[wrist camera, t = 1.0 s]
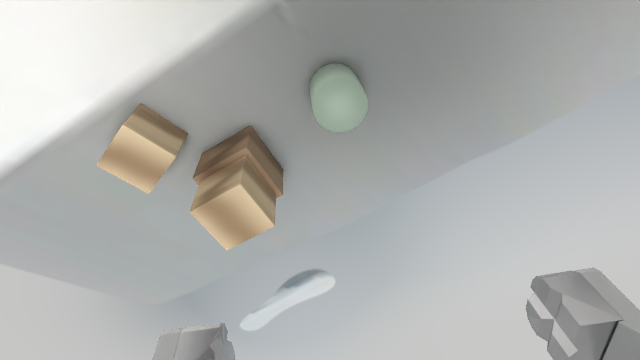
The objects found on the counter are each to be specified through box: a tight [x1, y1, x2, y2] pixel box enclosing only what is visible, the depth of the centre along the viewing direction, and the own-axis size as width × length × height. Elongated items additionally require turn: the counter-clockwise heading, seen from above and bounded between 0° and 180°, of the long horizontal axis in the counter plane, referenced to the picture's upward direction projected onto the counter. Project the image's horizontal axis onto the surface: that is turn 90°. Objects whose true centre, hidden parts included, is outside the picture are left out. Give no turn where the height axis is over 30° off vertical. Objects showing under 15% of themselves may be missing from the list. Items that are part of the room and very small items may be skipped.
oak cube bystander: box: [97, 104, 188, 194], centre depth 37 cm, size 5×5×5 cm
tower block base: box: [193, 125, 283, 198], centre depth 39 cm, size 6×6×5 cm
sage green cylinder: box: [309, 63, 368, 133], centre depth 36 cm, size 5×5×5 cm
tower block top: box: [190, 155, 276, 250], centre depth 35 cm, size 5×5×5 cm
